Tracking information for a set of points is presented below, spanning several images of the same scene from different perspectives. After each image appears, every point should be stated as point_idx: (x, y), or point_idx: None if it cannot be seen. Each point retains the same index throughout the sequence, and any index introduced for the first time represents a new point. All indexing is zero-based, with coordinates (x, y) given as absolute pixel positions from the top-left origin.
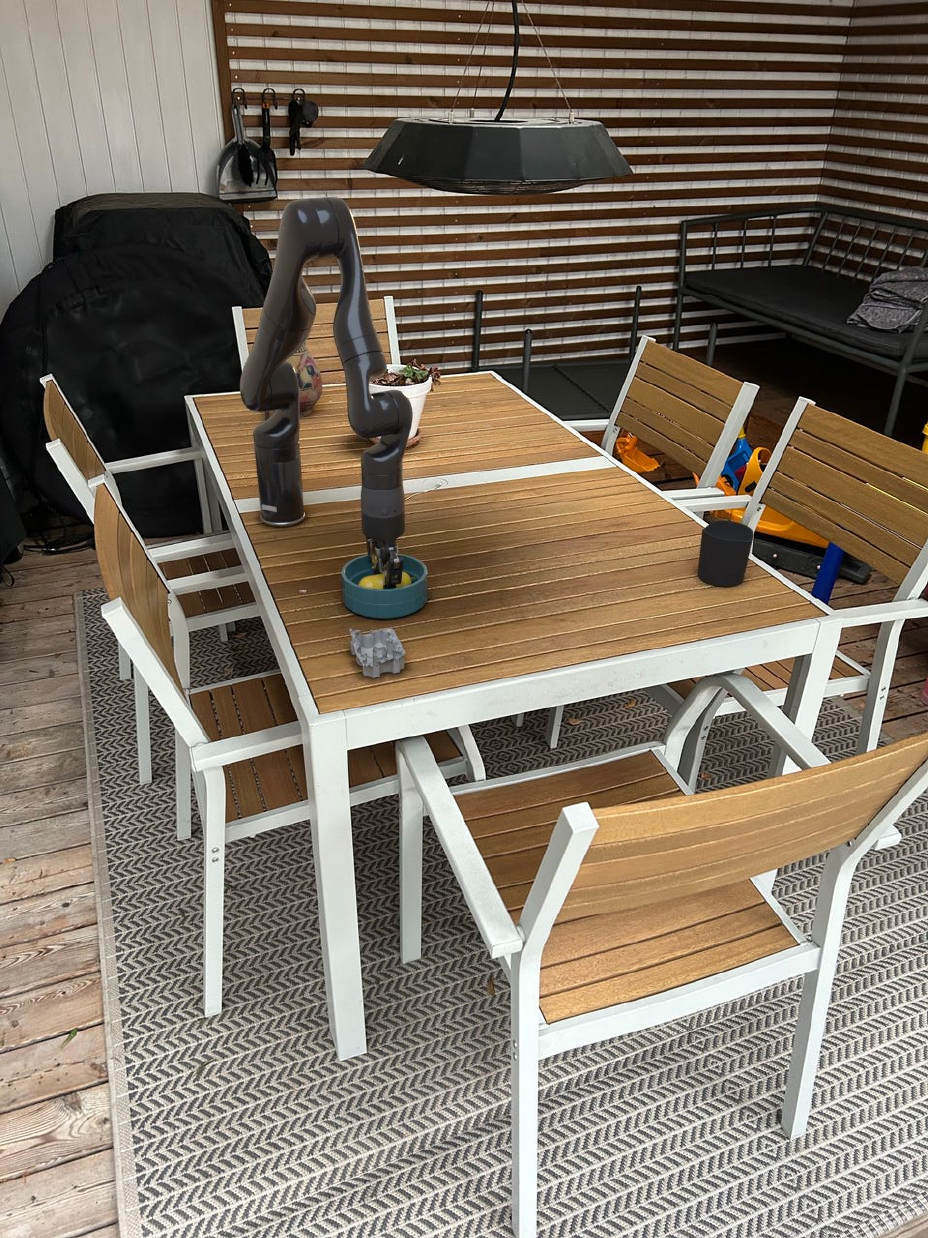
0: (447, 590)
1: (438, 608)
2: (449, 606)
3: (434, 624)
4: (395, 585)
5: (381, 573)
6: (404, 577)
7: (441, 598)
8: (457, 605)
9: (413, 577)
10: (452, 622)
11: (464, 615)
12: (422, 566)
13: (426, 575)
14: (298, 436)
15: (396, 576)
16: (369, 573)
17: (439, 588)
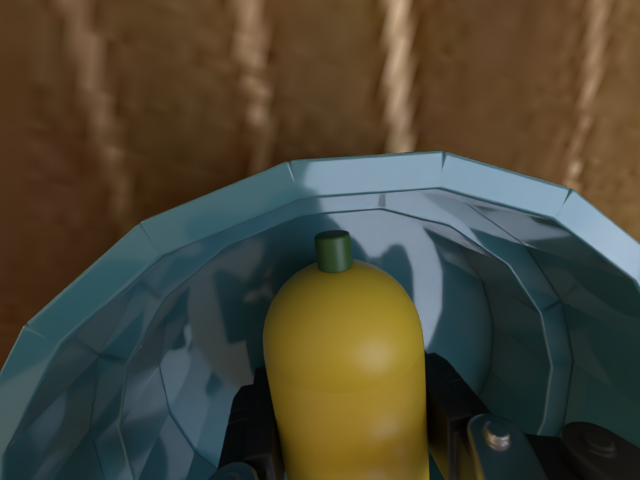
0: (306, 11)
1: (484, 133)
2: (486, 67)
3: (606, 195)
4: (460, 402)
5: (276, 472)
6: (408, 346)
7: (390, 82)
8: (492, 17)
9: (340, 251)
10: (628, 106)
11: (599, 18)
12: (391, 191)
13: (581, 200)
14: None
15: (541, 470)
16: (147, 468)
17: (269, 54)
